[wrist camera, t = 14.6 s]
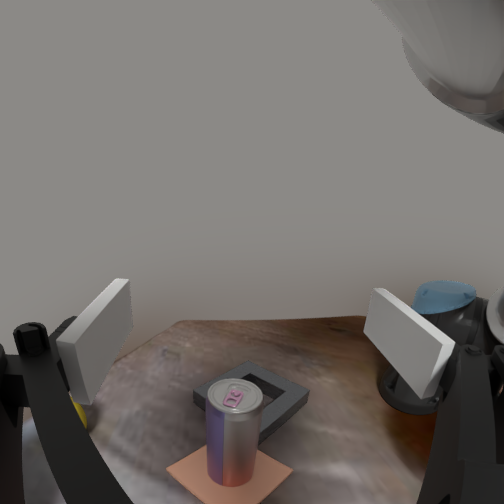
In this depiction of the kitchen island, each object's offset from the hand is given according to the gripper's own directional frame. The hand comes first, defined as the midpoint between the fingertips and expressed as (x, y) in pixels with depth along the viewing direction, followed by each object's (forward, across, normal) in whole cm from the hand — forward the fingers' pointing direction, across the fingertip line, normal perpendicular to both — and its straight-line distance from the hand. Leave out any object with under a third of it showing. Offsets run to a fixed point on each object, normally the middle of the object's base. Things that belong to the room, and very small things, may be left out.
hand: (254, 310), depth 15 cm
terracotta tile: (+10, 0, -30) cm, 31 cm away
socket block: (+25, +4, -30) cm, 39 cm away
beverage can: (+10, 0, -29) cm, 31 cm away
